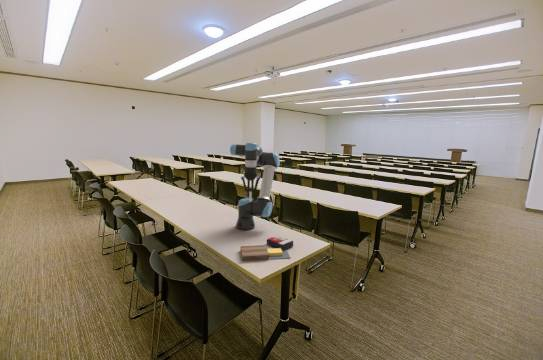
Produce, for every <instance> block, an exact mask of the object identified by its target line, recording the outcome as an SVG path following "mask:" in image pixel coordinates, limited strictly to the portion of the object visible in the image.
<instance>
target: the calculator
mask: <svg viewBox="0 0 543 360" xmlns="http://www.w3.org/2000/svg"><path fill="white" fill-rule="evenodd" d="M266 245H269V246H272V247H273V248H281V250H285V249H286V250H287V249H289V248H291V247H294V240H292V239H289V238H288V237H287V238H286V237H284V236H281V235H275V236H273V237H269V238H267V239H266Z"/></svg>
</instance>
